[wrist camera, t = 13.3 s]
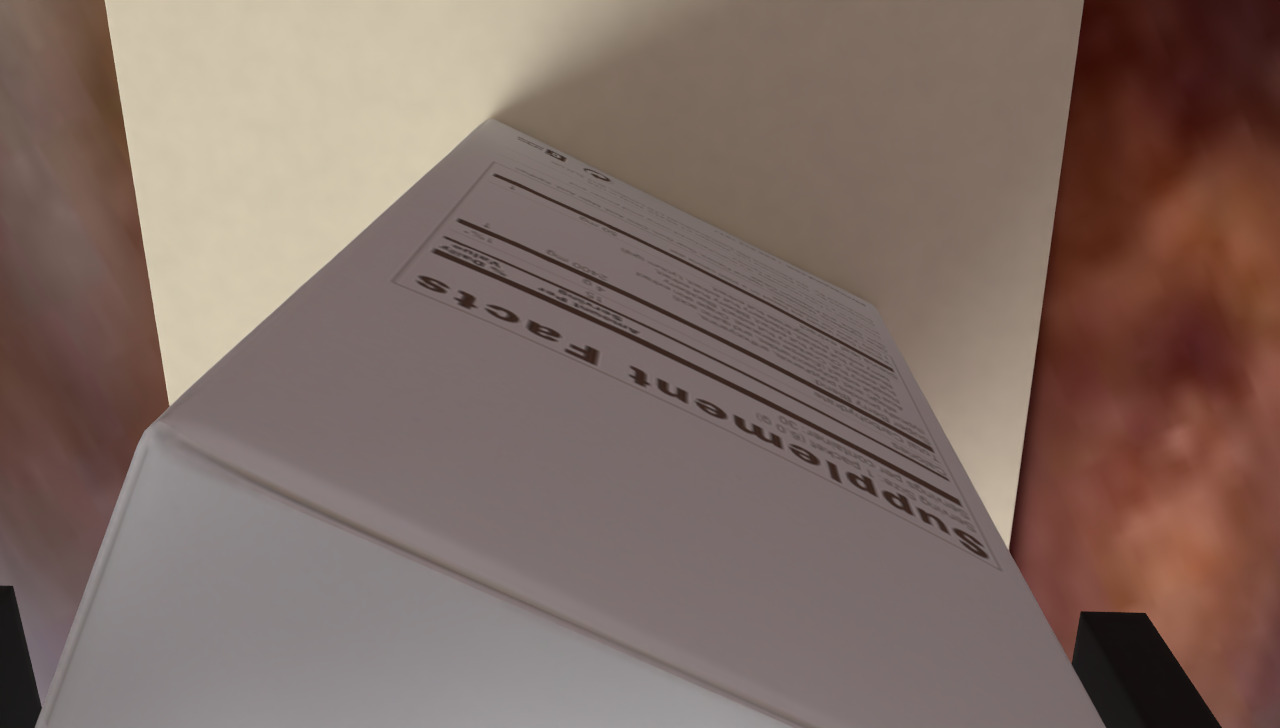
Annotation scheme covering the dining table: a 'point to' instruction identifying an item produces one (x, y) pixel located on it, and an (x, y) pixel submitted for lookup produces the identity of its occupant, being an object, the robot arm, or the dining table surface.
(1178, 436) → the dining table surface
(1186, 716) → the robot arm
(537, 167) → the rectangular carton
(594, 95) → the placemat
